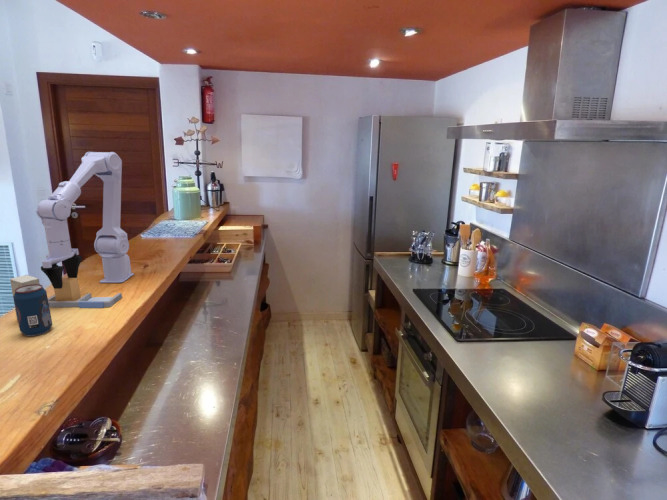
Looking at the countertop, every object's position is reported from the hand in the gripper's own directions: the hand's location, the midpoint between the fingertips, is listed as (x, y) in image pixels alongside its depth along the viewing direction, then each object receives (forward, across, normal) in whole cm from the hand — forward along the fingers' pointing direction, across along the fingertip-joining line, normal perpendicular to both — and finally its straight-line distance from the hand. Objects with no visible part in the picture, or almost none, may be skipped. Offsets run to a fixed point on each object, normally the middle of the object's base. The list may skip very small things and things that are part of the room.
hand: (65, 283), depth 127 cm
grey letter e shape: (+6, 0, +5) cm, 7 cm away
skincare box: (+6, +13, -2) cm, 15 cm away
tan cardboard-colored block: (+6, 0, 0) cm, 6 cm away
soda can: (+6, +20, +4) cm, 22 cm away
